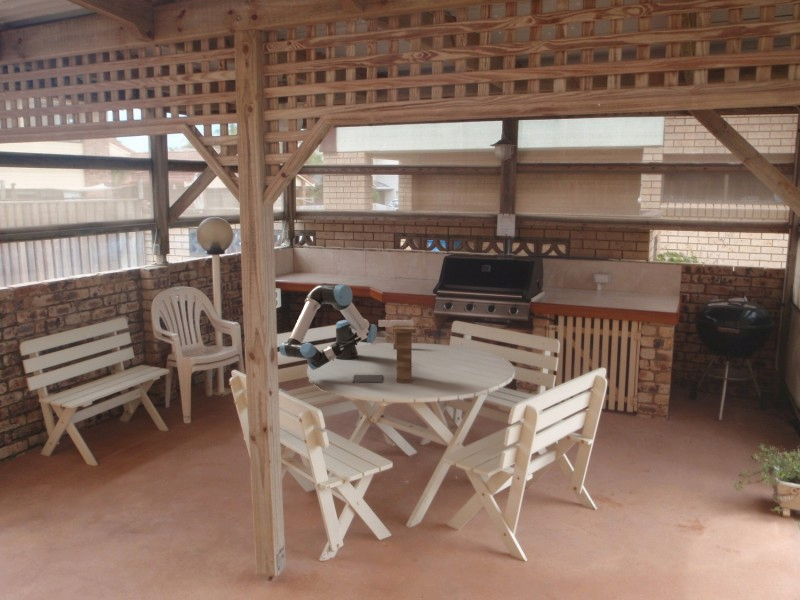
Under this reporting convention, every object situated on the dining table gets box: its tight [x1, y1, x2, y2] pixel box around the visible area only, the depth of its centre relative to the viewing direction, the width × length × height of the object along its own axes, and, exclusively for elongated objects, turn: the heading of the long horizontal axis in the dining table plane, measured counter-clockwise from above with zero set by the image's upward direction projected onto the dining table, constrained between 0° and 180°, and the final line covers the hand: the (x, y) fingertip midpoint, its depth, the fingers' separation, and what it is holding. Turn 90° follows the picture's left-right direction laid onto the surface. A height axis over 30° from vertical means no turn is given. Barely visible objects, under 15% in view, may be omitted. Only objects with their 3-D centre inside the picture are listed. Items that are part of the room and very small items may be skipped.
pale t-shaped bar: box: [377, 319, 414, 328], centre depth 376 cm, size 6×19×3 cm, turn 89°
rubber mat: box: [352, 374, 384, 384], centre depth 381 cm, size 14×16×1 cm
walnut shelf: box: [392, 322, 416, 383], centre depth 379 cm, size 16×12×30 cm
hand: (367, 332), depth 377 cm, fingers open, 13 cm apart
